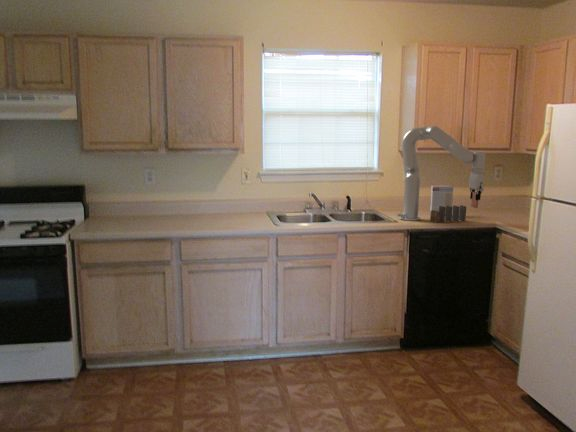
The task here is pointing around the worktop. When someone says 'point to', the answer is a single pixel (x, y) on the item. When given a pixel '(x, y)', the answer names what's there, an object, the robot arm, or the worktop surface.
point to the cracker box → (441, 197)
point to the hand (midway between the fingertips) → (475, 199)
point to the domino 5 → (474, 202)
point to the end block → (434, 216)
